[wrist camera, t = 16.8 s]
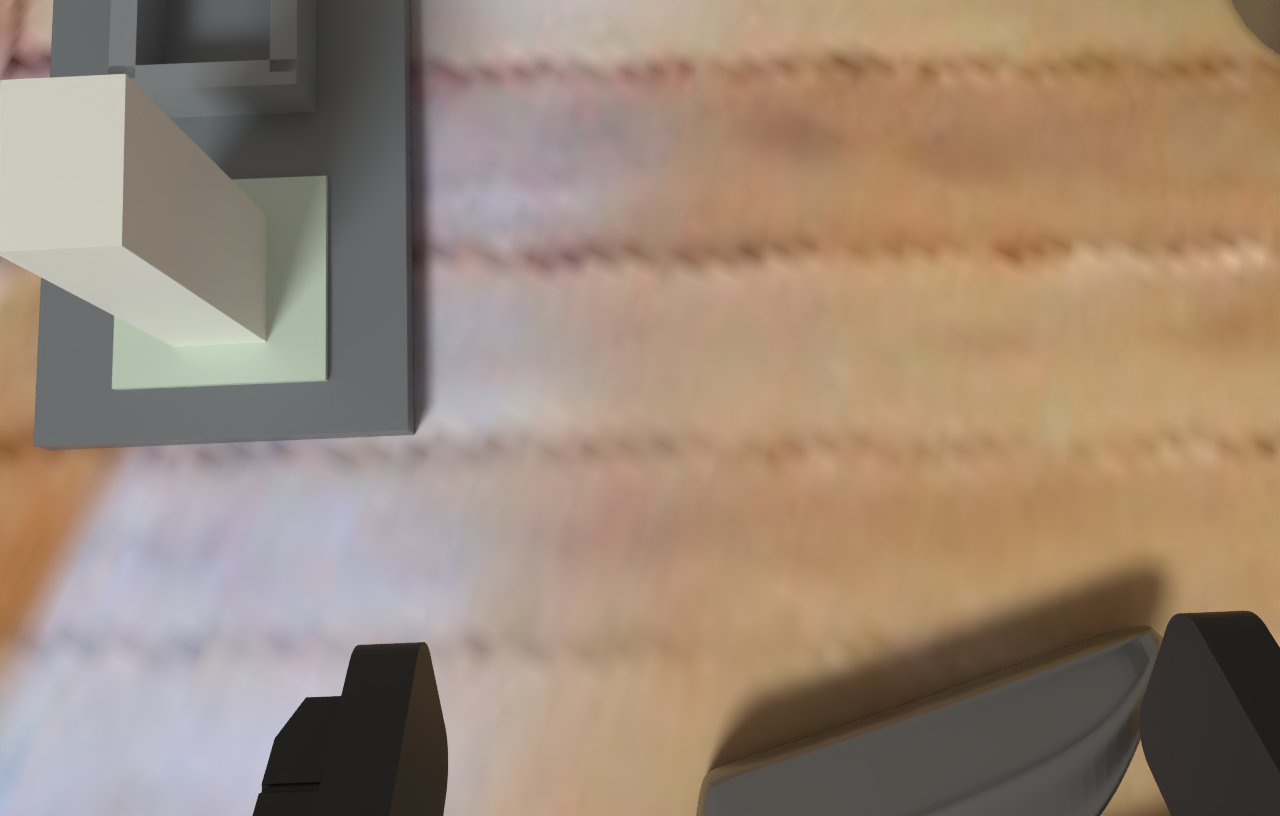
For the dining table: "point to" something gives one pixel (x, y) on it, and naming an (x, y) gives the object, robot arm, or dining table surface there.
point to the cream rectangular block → (128, 211)
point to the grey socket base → (296, 225)
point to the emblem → (966, 746)
